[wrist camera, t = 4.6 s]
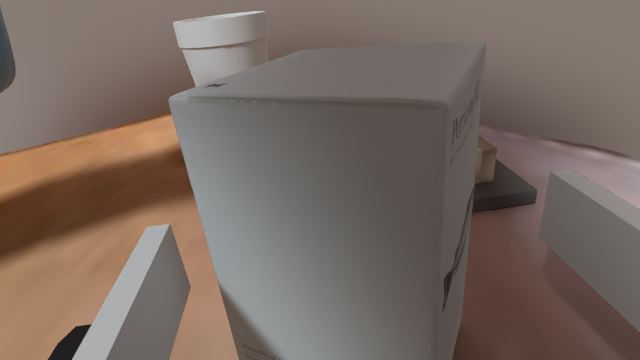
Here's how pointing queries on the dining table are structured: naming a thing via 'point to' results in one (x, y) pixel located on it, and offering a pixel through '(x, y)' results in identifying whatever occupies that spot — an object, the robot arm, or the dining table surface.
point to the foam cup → (223, 44)
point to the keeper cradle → (497, 182)
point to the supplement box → (339, 198)
